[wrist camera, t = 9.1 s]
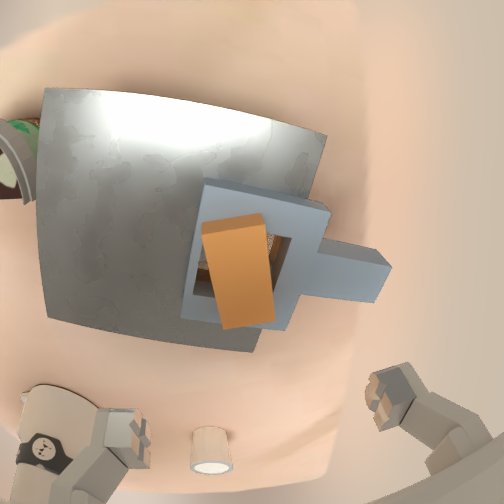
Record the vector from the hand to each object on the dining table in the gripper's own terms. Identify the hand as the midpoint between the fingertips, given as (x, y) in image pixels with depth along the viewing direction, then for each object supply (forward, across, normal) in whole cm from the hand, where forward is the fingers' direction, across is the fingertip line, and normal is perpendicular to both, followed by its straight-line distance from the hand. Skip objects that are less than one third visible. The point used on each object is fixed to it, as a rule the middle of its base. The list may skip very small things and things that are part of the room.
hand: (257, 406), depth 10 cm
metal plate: (+20, +4, -2) cm, 21 cm away
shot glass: (+21, +7, +39) cm, 45 cm away
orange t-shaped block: (+16, 0, 0) cm, 16 cm away
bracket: (+12, -4, +1) cm, 12 cm away
